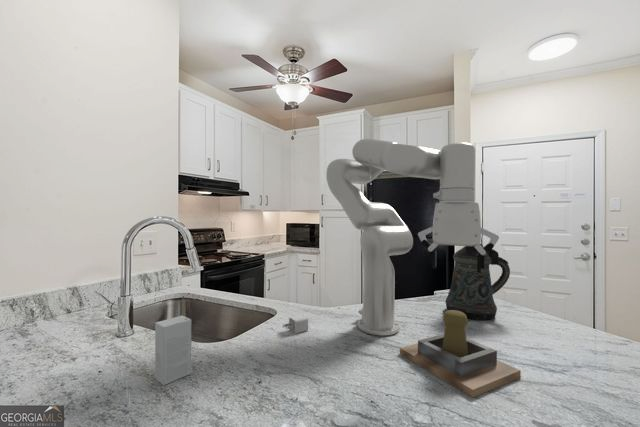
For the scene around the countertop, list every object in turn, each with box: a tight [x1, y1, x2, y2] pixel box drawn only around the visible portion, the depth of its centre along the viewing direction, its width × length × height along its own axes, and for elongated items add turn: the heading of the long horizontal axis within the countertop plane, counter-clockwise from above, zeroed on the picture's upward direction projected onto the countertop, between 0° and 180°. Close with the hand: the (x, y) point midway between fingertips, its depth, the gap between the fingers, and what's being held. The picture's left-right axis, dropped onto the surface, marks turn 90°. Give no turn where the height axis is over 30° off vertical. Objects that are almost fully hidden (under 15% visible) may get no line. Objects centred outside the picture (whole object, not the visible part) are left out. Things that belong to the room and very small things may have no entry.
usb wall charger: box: [283, 314, 309, 335], centre depth 89 cm, size 4×7×4 cm, turn 122°
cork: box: [442, 310, 468, 358], centre depth 70 cm, size 6×6×11 cm
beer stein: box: [445, 243, 511, 322], centre depth 107 cm, size 16×19×25 cm
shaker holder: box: [399, 333, 522, 398], centre depth 70 cm, size 20×16×4 cm
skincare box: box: [154, 315, 192, 386], centre depth 64 cm, size 6×4×12 cm
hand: (455, 269), depth 70 cm, fingers open, 9 cm apart
